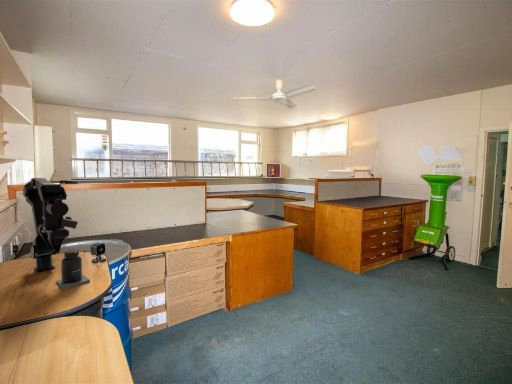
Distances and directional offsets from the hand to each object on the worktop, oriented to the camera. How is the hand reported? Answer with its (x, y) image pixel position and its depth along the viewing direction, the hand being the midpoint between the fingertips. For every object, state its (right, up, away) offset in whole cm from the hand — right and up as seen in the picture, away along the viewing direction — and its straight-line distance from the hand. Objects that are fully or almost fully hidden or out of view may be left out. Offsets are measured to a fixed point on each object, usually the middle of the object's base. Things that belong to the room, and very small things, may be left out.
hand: (54, 250), depth 107 cm
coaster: (+10, -13, -2) cm, 16 cm away
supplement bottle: (+9, -12, -2) cm, 15 cm away
